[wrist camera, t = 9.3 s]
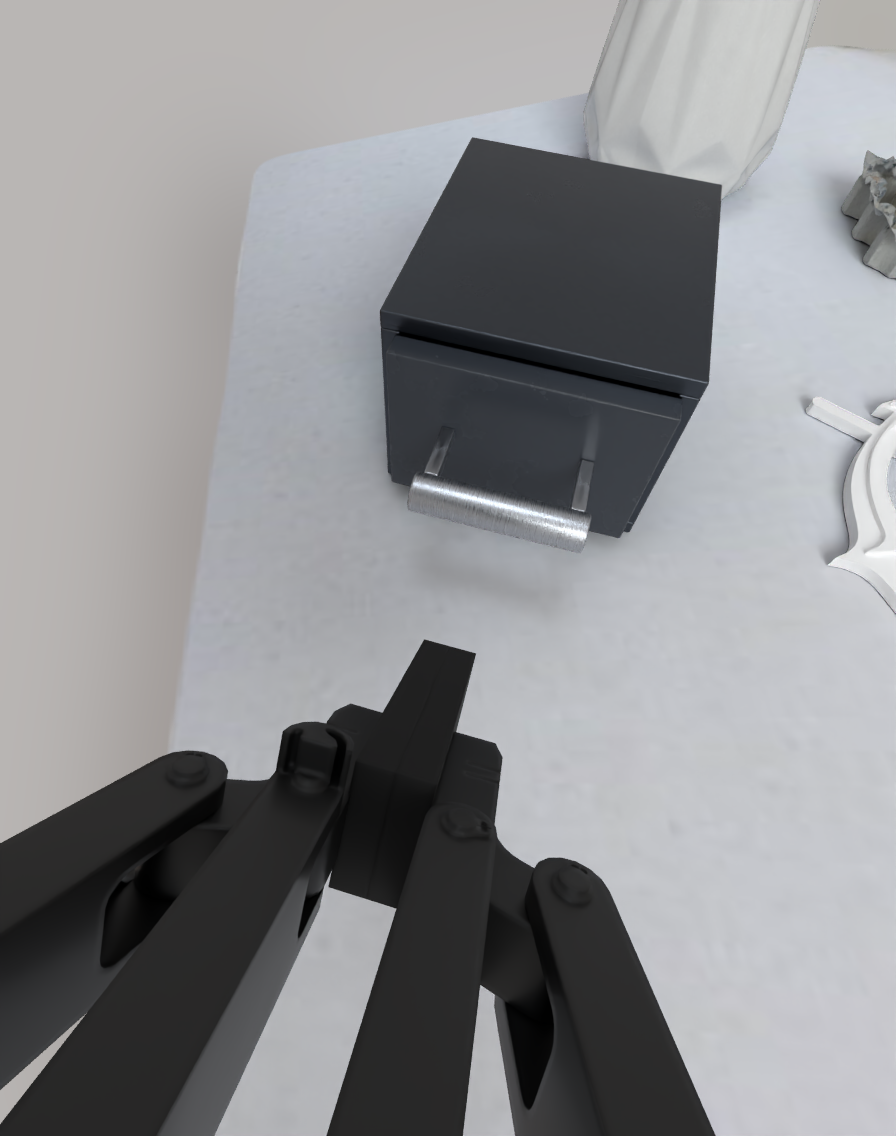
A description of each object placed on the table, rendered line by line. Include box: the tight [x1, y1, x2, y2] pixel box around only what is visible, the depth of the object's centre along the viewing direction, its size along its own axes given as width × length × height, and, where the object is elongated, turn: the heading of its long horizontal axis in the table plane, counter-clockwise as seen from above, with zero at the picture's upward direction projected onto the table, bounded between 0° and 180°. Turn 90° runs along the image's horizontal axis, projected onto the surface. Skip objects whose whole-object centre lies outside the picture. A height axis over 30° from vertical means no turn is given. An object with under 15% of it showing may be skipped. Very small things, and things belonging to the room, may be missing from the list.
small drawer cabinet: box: [380, 138, 722, 532], centre depth 31 cm, size 15×13×10 cm
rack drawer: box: [386, 335, 682, 553], centre depth 29 cm, size 18×11×8 cm, turn 165°
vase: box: [583, 0, 820, 200], centre depth 42 cm, size 14×14×15 cm
